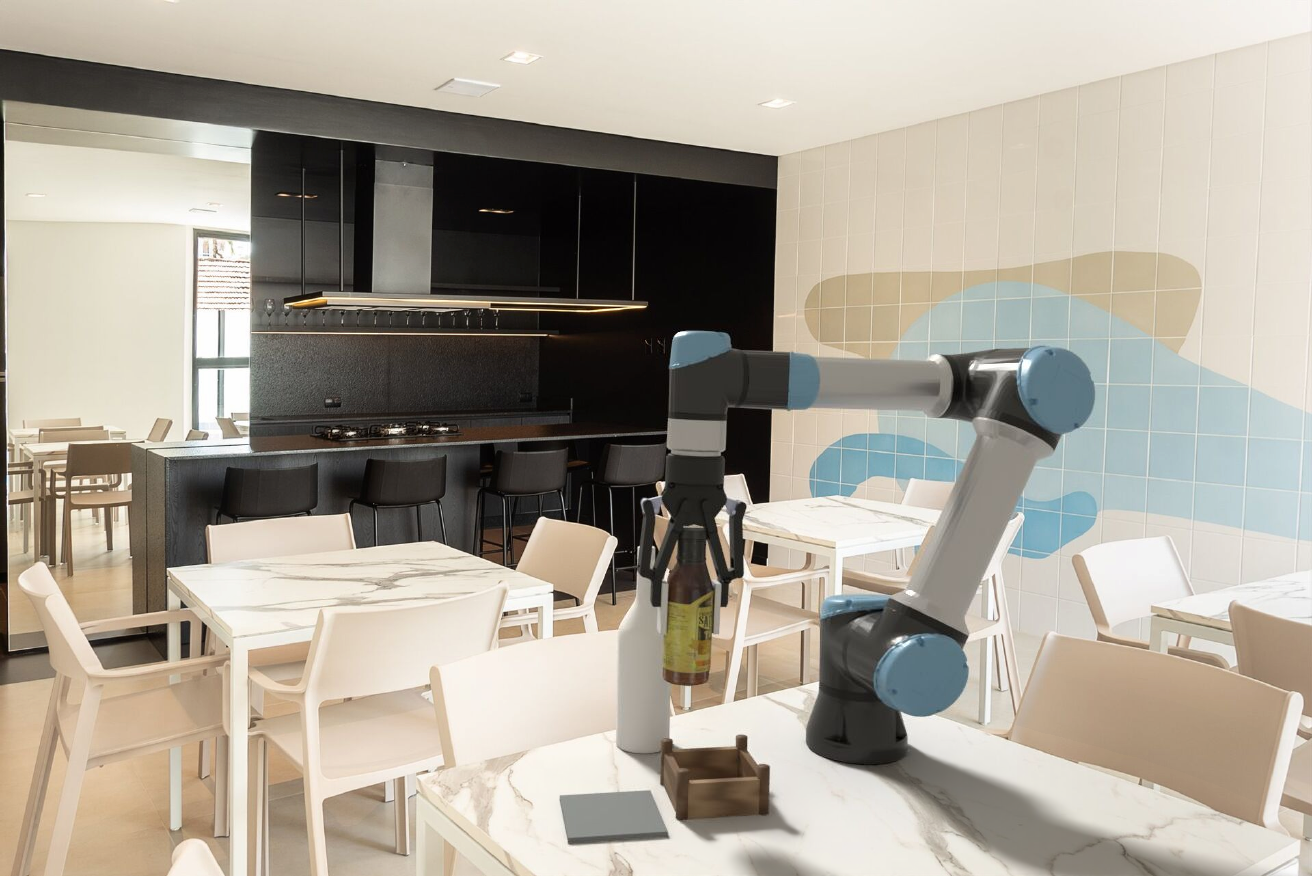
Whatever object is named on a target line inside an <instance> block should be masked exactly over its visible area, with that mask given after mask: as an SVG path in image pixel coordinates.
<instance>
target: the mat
mask: <svg viewBox="0 0 1312 876" xmlns="http://www.w3.org/2000/svg"><path fill="white" fill-rule="evenodd" d="M559 805H560V808H561V813H562V814H561V815H562V818H563V819H562V820H563V825H564V830H565V834H566V839H567V843H568V844H569V843H571V844H572V843H587V842H602V841H603V842H604V841H614V840H615V841H616V840H631V839H648V838H650V839H651V838H663V837H668V835H669V834H668V833H669V830H668V828H667V826H666V824H665V821H664V819H663V816H662V815H661V812H660V810H659V808H658V805H657V803H656V800H655V798H654V796H653V793H652V791H651V790H649V789H648V790H647V789H646V790H628V791H615V792H614V791H612V792H596V793H595V792H594V793H580V794H579V793H577V794H561V795H560V794H559Z"/></svg>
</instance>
